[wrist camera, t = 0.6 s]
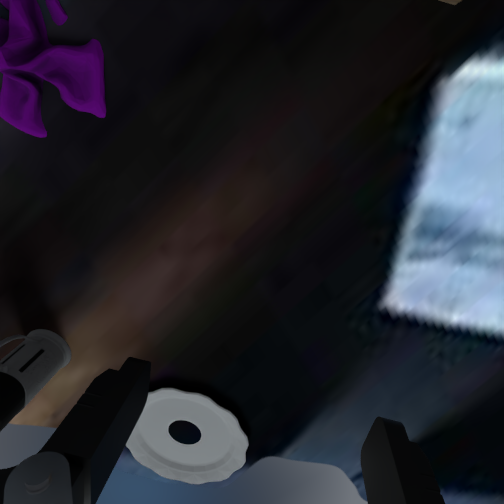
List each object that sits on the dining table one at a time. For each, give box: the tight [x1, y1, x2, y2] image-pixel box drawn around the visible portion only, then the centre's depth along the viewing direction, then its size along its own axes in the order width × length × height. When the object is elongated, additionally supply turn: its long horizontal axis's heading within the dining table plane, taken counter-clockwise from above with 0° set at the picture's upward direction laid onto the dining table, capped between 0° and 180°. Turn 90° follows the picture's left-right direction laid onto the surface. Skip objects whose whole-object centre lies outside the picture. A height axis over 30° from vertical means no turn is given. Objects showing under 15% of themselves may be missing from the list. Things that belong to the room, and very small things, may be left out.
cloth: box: [0, 0, 106, 138], centre depth 39 cm, size 22×19×6 cm
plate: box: [126, 387, 249, 484], centre depth 64 cm, size 25×25×2 cm
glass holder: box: [0, 329, 71, 431], centre depth 53 cm, size 9×14×15 cm, turn 165°
